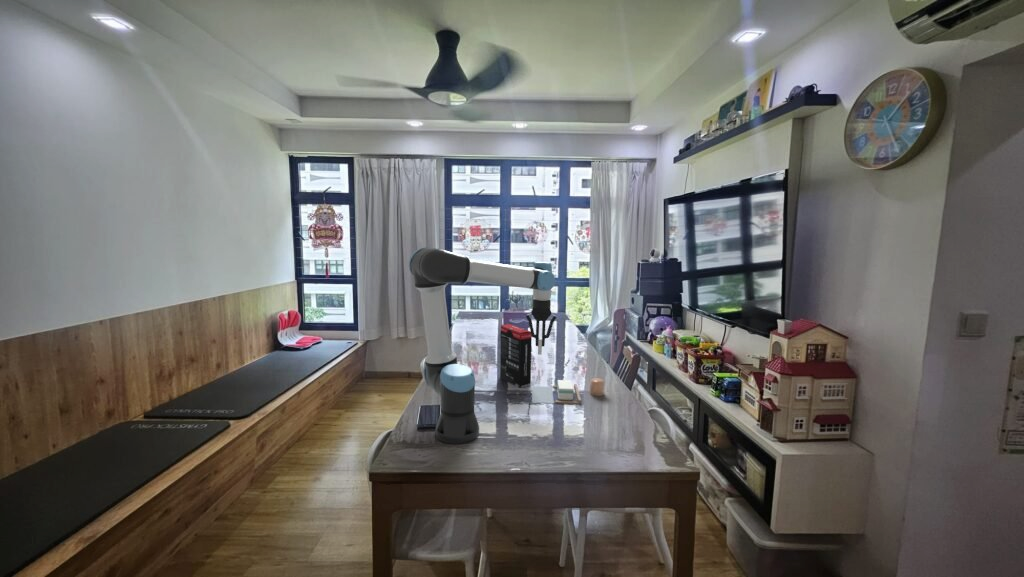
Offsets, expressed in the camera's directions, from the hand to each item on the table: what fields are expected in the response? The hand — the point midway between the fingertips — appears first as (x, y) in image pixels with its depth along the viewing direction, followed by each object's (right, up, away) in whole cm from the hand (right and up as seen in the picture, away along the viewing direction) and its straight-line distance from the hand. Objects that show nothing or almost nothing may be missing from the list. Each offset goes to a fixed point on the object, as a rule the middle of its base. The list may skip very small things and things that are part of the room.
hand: (539, 353), depth 175 cm
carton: (+11, -18, +2) cm, 22 cm away
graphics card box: (-11, -17, +17) cm, 27 cm away
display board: (+7, -20, +2) cm, 21 cm away
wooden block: (+26, -19, +8) cm, 33 cm away
